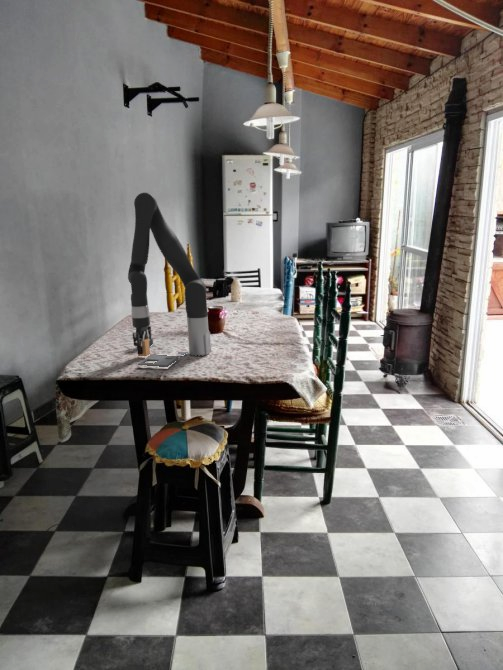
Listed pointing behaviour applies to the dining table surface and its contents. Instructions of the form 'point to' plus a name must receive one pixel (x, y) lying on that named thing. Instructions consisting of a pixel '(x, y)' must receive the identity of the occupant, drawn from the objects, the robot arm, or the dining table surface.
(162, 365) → the outlet plate
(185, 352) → the phone
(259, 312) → the dining table surface
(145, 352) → the block
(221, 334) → the dining table surface
